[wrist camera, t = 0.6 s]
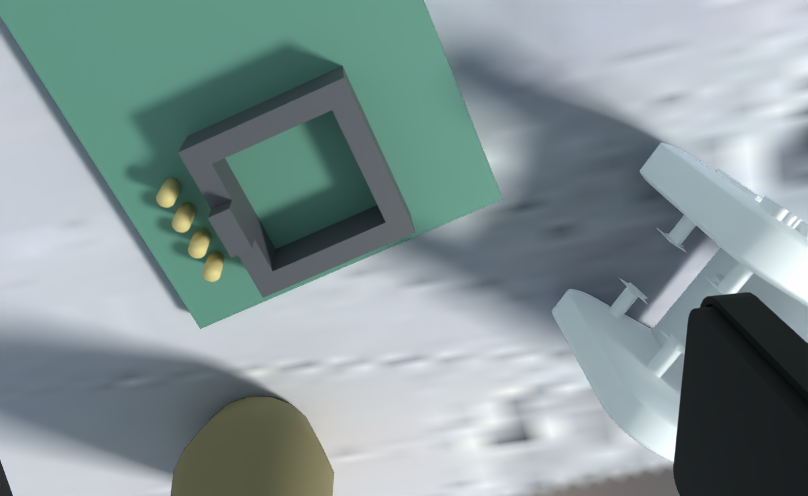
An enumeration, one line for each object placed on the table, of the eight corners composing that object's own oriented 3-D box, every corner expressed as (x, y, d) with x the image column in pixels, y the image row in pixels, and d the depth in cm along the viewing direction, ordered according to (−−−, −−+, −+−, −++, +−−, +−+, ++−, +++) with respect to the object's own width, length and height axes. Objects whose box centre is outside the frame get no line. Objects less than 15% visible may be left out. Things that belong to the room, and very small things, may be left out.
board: (295, -319, 29) (289, -355, 24) (497, 190, 38) (519, 226, 33) (-79, -131, 30) (-145, -135, 26) (203, 316, 39) (189, 366, 35)
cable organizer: (524, 290, 40) (595, 430, 30) (652, 119, 37) (783, 207, 26) (731, 404, 45) (857, 561, 34) (862, 260, 41) (1045, 384, 31)
